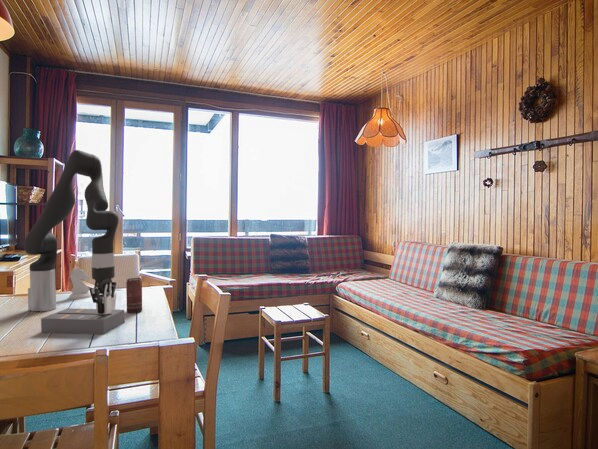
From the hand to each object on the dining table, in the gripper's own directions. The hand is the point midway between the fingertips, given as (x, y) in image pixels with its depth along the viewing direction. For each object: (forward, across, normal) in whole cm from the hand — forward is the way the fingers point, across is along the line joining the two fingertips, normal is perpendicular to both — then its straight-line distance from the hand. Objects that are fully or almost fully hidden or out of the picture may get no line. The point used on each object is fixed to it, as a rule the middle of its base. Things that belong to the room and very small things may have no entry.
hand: (103, 311), depth 144 cm
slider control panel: (+6, 0, -8) cm, 10 cm away
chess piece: (+6, -47, -40) cm, 62 cm away
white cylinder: (+6, -25, -13) cm, 29 cm away
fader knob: (+2, 0, 0) cm, 2 cm away
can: (+6, -23, 0) cm, 24 cm away
